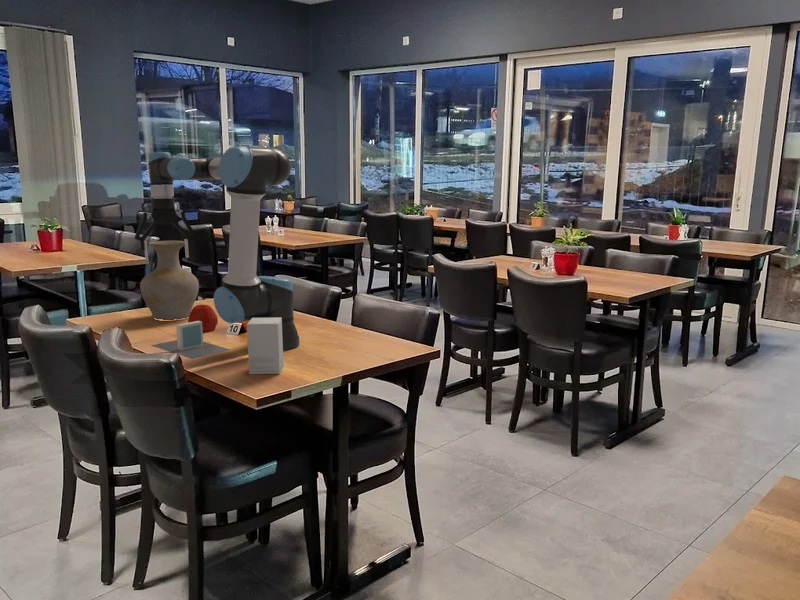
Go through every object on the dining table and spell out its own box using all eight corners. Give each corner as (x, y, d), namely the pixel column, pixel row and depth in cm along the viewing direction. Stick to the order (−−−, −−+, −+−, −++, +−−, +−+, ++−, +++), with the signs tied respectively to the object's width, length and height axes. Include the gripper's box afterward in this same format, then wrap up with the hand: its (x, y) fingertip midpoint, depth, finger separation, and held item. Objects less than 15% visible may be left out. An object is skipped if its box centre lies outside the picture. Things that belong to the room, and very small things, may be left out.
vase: (187, 309, 279) (183, 238, 273) (209, 318, 262) (205, 242, 257) (134, 316, 265) (129, 241, 260) (154, 326, 249) (148, 246, 243)
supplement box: (284, 365, 199) (282, 316, 196) (280, 374, 191) (278, 323, 188) (253, 365, 199) (251, 316, 196) (248, 374, 190) (246, 323, 187)
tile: (203, 345, 217) (202, 321, 215) (181, 350, 211) (180, 325, 209) (199, 344, 218) (198, 320, 217) (177, 349, 212) (176, 324, 211)
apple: (223, 331, 242) (222, 302, 240) (204, 337, 233) (203, 308, 231) (201, 328, 246) (200, 300, 244) (182, 334, 237) (180, 305, 235)
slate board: (231, 353, 212) (231, 349, 212) (192, 362, 202) (192, 358, 202) (189, 340, 228) (189, 337, 228) (151, 348, 217) (151, 345, 217)
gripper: (198, 196, 239) (201, 255, 243) (123, 198, 229) (128, 259, 232) (201, 197, 233) (205, 257, 236) (124, 198, 222) (129, 261, 226)
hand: (167, 258), depth 234 cm, fingers open, 13 cm apart
